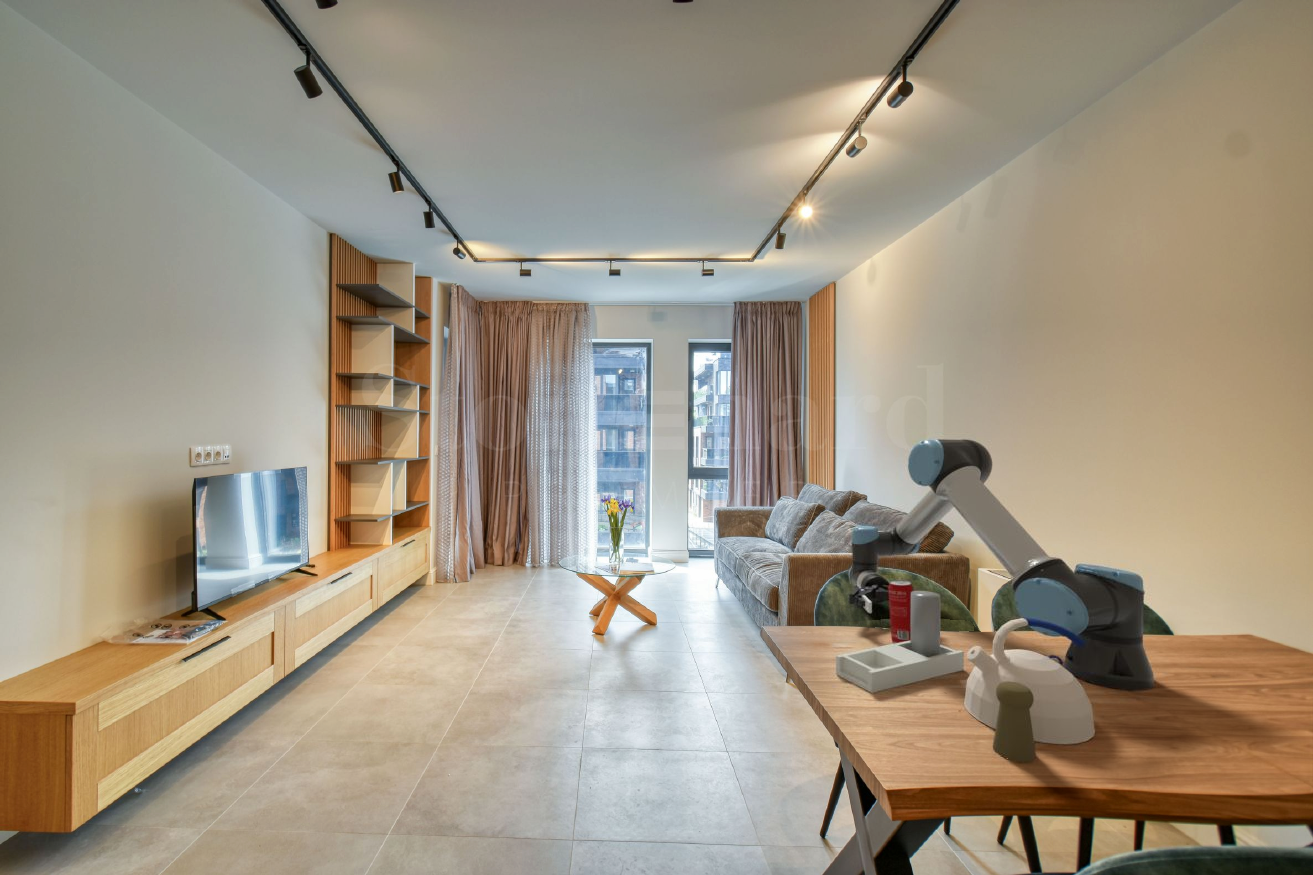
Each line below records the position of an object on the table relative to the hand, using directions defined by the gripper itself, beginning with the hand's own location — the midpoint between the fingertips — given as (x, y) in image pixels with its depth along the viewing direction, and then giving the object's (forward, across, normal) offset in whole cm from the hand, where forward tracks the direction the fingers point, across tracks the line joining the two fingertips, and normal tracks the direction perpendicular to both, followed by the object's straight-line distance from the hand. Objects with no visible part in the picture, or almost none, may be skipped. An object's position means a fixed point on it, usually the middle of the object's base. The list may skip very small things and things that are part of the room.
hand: (898, 608), depth 147 cm
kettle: (+39, -10, -8) cm, 41 cm away
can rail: (+21, +6, -8) cm, 23 cm away
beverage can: (+2, 0, -8) cm, 8 cm away
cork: (+52, -2, -8) cm, 53 cm away
